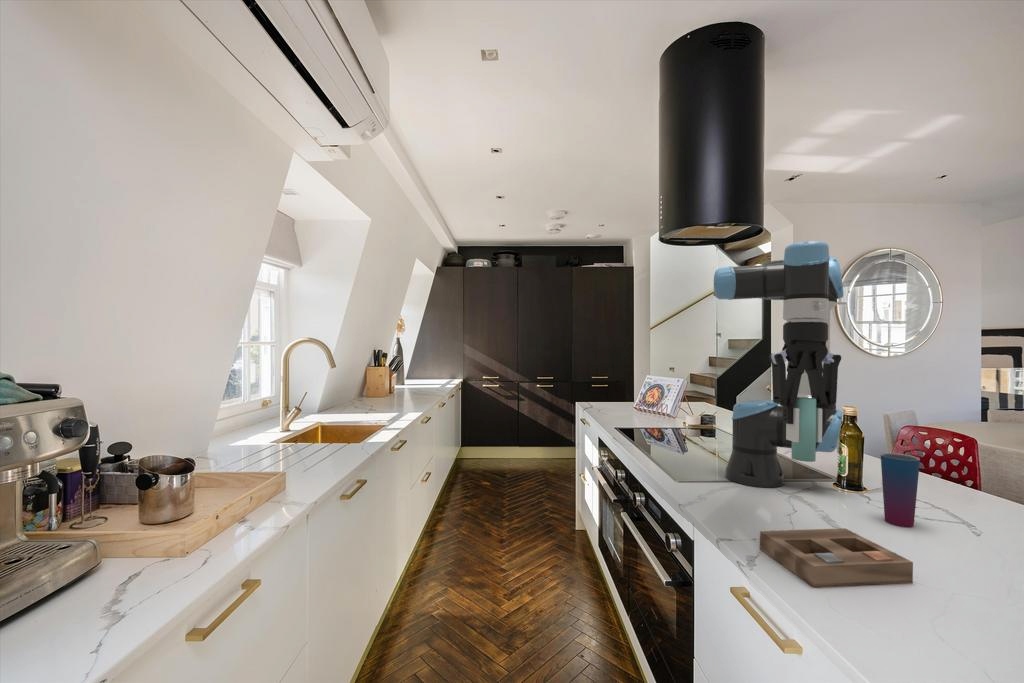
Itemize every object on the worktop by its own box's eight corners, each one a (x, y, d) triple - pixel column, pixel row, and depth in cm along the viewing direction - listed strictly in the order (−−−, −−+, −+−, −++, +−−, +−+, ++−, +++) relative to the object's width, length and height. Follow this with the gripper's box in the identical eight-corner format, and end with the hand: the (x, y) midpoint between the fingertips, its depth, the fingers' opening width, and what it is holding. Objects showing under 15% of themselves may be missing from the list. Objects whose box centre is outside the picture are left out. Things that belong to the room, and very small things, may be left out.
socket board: (759, 549, 90) (760, 529, 90) (845, 545, 92) (845, 526, 92) (813, 587, 76) (813, 564, 76) (912, 582, 78) (912, 560, 78)
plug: (786, 456, 92) (787, 396, 93) (806, 456, 93) (806, 396, 93) (800, 461, 88) (801, 399, 89) (820, 461, 89) (821, 399, 89)
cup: (926, 530, 100) (927, 461, 100) (890, 527, 101) (891, 459, 101) (906, 518, 107) (907, 453, 107) (873, 516, 108) (874, 451, 108)
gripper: (775, 319, 86) (774, 444, 86) (861, 321, 88) (860, 445, 87) (752, 321, 94) (750, 436, 94) (832, 323, 95) (830, 437, 95)
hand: (803, 440), depth 91 cm, fingers closed on plug, 4 cm apart
